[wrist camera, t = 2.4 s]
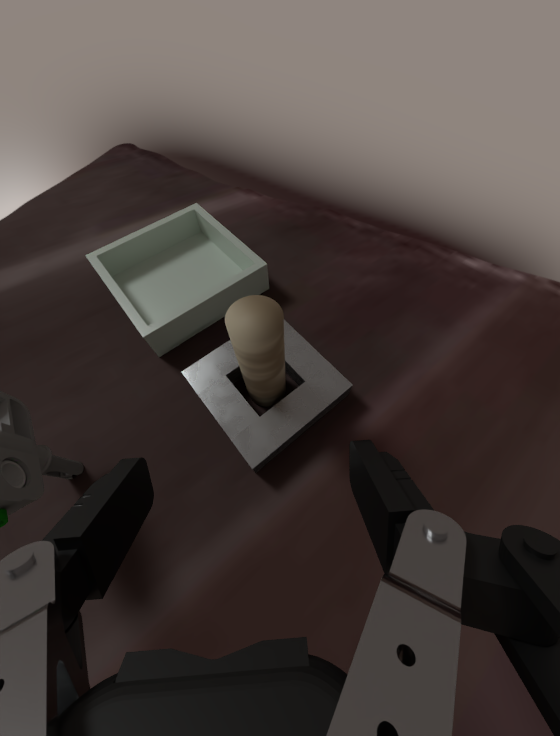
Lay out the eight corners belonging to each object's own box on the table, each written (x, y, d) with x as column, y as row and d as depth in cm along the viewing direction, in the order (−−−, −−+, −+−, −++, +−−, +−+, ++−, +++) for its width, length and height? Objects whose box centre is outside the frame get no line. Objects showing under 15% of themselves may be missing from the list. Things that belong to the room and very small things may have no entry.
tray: (159, 357, 32) (143, 337, 28) (104, 279, 38) (85, 255, 34) (269, 288, 36) (267, 263, 33) (204, 229, 42) (196, 202, 39)
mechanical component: (78, 418, 29) (-16, 374, 20) (105, 513, 24) (0, 511, 16) (48, 433, 28) (-63, 394, 19) (70, 534, 24) (-60, 544, 15)
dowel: (263, 414, 28) (247, 352, 18) (240, 386, 30) (213, 314, 19) (293, 390, 29) (295, 319, 19) (269, 365, 31) (259, 286, 20)
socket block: (255, 473, 26) (252, 469, 23) (189, 382, 30) (181, 371, 28) (347, 395, 29) (352, 385, 27) (275, 324, 33) (274, 310, 31)
